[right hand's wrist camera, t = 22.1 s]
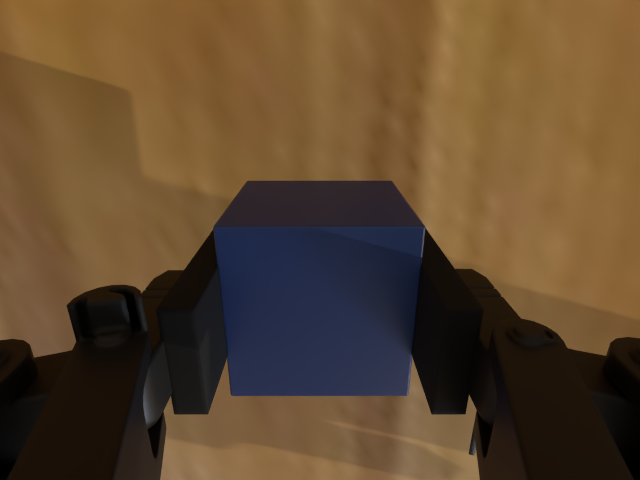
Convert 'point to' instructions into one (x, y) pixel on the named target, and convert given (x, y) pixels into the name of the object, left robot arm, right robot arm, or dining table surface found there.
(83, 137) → the dining table surface
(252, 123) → the dining table surface
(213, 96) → the dining table surface
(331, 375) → the blue cube
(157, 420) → the right robot arm
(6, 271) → the dining table surface
